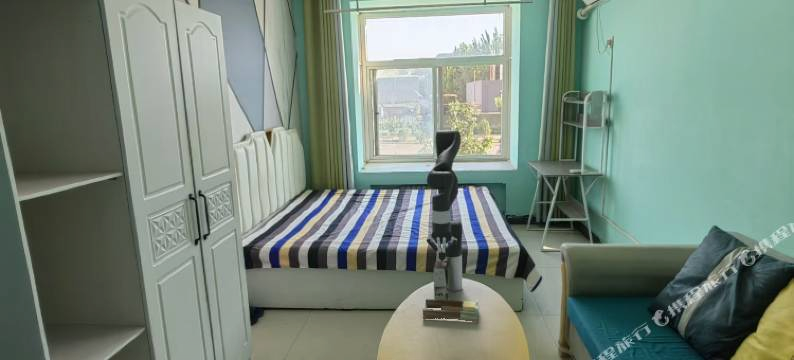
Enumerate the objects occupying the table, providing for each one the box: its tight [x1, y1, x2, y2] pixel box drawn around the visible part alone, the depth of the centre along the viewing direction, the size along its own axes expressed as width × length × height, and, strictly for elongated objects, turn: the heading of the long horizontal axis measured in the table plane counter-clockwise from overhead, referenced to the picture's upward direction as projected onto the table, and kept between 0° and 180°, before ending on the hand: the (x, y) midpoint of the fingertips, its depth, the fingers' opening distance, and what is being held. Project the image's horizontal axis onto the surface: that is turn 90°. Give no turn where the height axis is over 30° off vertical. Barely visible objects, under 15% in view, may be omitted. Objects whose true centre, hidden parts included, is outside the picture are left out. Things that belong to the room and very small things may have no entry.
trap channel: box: [422, 298, 479, 324], centre depth 193 cm, size 10×23×6 cm, turn 79°
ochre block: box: [463, 300, 476, 312], centre depth 190 cm, size 5×5×4 cm
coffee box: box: [433, 260, 450, 300], centre depth 208 cm, size 9×6×16 cm
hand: (442, 260), depth 188 cm, fingers closed
